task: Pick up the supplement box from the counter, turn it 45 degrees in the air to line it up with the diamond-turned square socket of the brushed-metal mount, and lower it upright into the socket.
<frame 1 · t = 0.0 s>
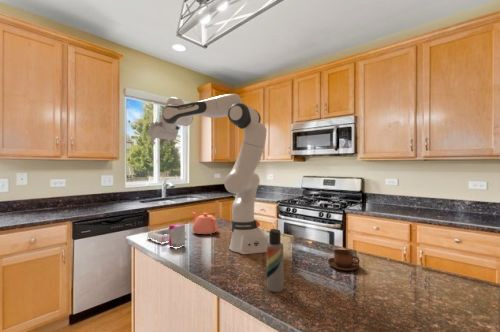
hand: (158, 144, 153), 54 cm above the countertop, tool tilted 30°, fingers open, 8 cm apart
lotion bottle: (275, 288, 88), on the countertop
mount: (166, 239, 147), on the countertop
supplement box: (177, 247, 133), on the countertop
teapot: (204, 233, 160), on the countertop
cup and saucer: (343, 267, 106), on the countertop
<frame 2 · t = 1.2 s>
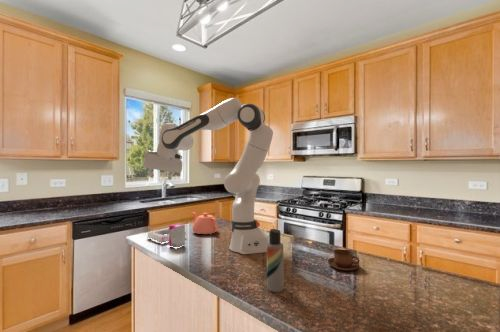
hand: (160, 178, 138), 35 cm above the countertop, tool pointing down, fingers open, 8 cm apart
nothing on the countertop moved.
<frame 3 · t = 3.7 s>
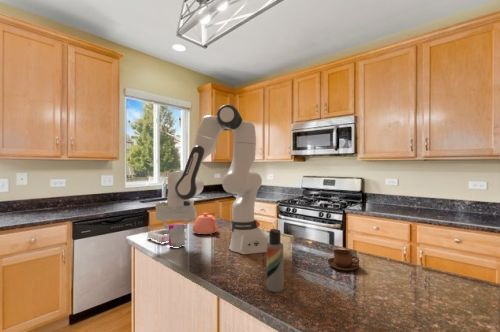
hand: (176, 228, 133), 10 cm above the countertop, tool pointing down, fingers open, 8 cm apart
supplement box: (177, 247, 133), on the countertop, touching gripper
everything else where it was.
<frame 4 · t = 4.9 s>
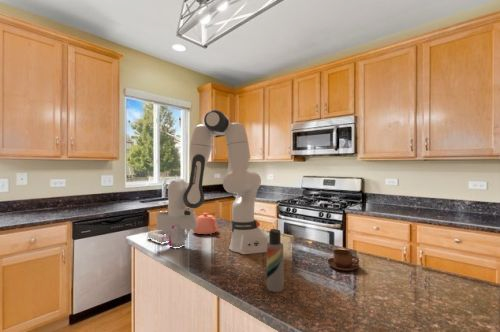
hand: (177, 238, 133), 5 cm above the countertop, tool pointing down, fingers closed on supplement box, 8 cm apart
supplement box: (177, 247, 133), on the countertop, touching gripper
everything else where it was.
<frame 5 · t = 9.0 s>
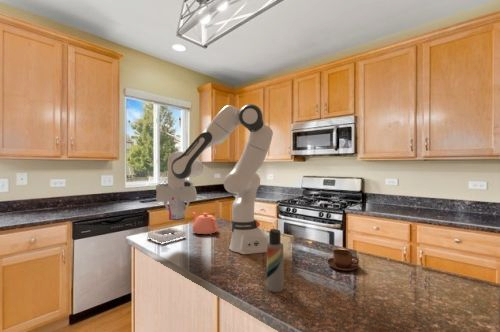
hand: (176, 210, 133), 19 cm above the countertop, tool pointing down, fingers closed on supplement box, 8 cm apart
supplement box: (177, 219, 133), point 14 cm above the countertop, touching gripper
everything else where it was.
when the fingers open (6 cm above the countertop, at t = 14.7 s): supplement box drops 1 cm, resting in mount.
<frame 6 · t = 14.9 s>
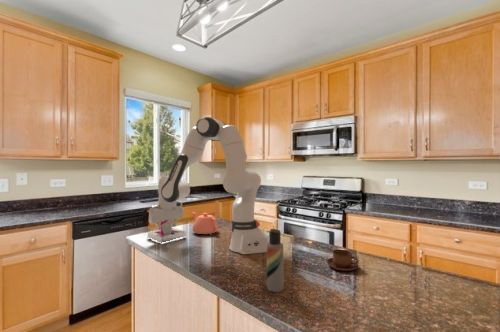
hand: (166, 228, 147), 6 cm above the countertop, tool pointing down, fingers open, 8 cm apart
supplement box: (166, 239, 147), resting in mount, touching gripper
everything else where it was.
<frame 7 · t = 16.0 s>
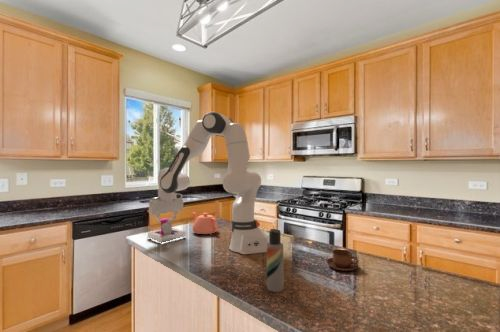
hand: (167, 220, 147), 11 cm above the countertop, tool pointing down, fingers open, 8 cm apart
supplement box: (166, 239, 147), resting in mount
everything else where it was.
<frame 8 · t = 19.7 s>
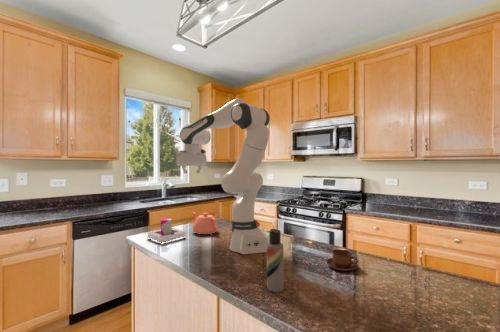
hand: (191, 173, 158), 37 cm above the countertop, tool pointing down, fingers open, 8 cm apart
nothing on the countertop moved.
at the end: supplement box 0.3 cm off-centre on the mount, point 0.0 cm above the mount's base; supplement box tilted 0°; the gripper is holding nothing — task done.
